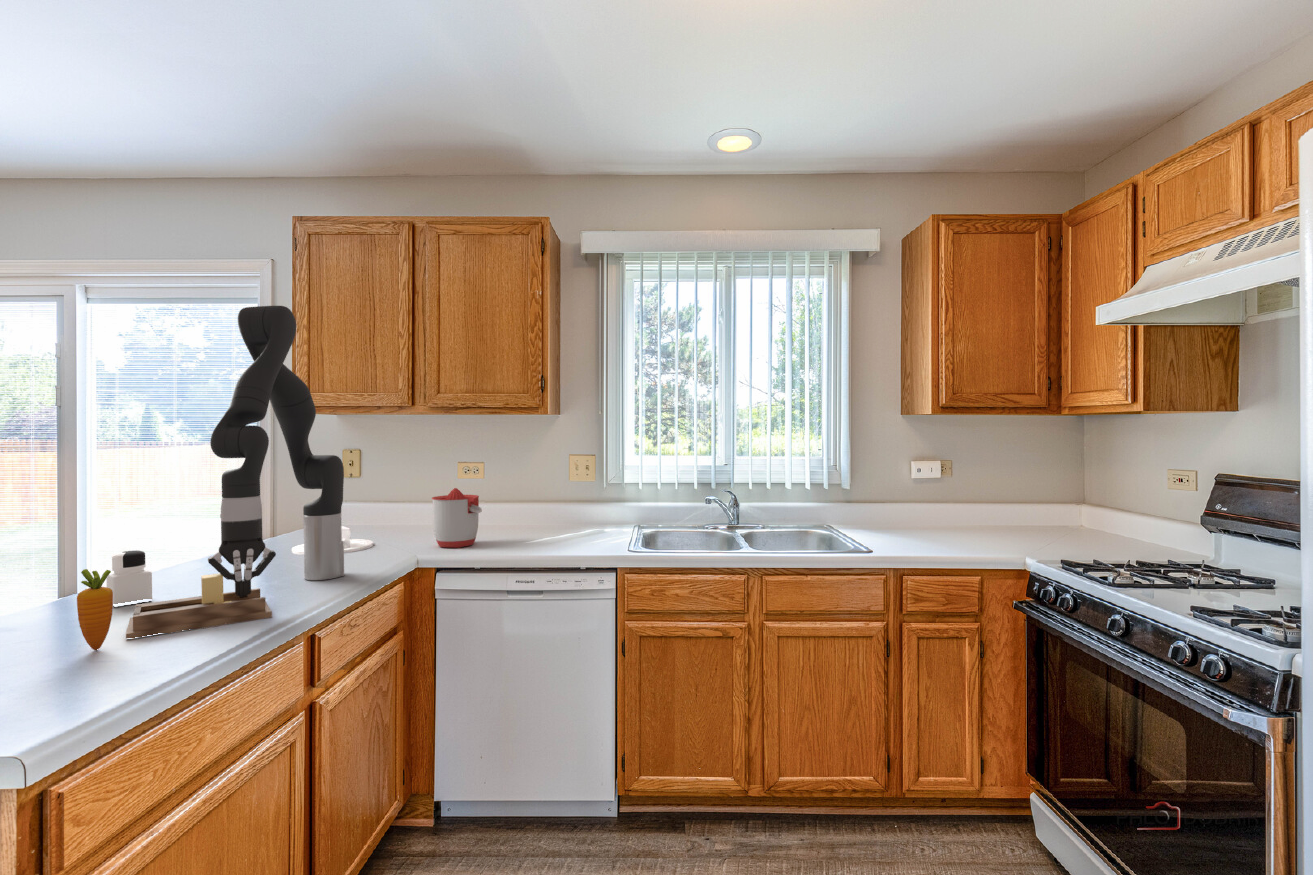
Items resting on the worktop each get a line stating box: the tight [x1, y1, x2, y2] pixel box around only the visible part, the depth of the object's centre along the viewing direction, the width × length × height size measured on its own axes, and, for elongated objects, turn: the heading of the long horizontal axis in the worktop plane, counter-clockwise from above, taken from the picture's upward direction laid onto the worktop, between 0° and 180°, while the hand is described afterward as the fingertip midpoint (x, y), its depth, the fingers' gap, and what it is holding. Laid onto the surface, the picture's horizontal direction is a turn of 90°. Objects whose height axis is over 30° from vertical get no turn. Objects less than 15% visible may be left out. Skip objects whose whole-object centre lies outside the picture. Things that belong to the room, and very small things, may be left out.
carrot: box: [76, 568, 114, 651], centre depth 117 cm, size 5×5×15 cm
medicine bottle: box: [105, 549, 153, 604], centre depth 151 cm, size 7×7×12 cm
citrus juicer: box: [431, 487, 482, 549], centre depth 222 cm, size 16×17×20 cm
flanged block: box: [200, 572, 231, 604], centre depth 136 cm, size 7×7×8 cm
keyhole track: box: [125, 587, 273, 639], centre depth 135 cm, size 24×14×4 cm, turn 127°
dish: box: [291, 525, 374, 556], centre depth 220 cm, size 25×25×11 cm
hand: (243, 597), depth 140 cm, fingers closed
